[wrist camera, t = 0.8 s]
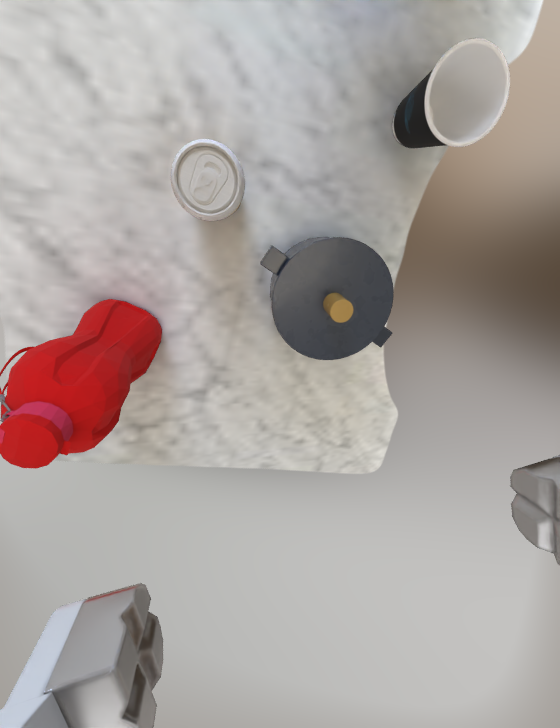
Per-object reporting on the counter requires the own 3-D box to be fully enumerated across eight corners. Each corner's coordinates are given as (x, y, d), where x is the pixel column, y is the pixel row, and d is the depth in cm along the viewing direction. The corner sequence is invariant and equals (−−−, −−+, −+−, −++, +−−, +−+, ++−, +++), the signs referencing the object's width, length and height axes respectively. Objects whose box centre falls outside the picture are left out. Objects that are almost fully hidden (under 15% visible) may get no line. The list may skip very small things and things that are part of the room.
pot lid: (320, 208, 37) (331, 208, 33) (413, 284, 42) (433, 292, 37) (247, 318, 41) (248, 330, 37) (339, 375, 46) (350, 392, 41)
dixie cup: (368, 109, 39) (412, 75, 30) (429, 65, 38) (497, 14, 28) (395, 175, 43) (443, 164, 33) (452, 136, 42) (520, 113, 32)
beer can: (251, 181, 41) (258, 166, 28) (228, 227, 43) (223, 235, 29) (205, 150, 39) (188, 117, 26) (183, 200, 41) (156, 194, 28)
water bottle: (88, 282, 44) (-72, 359, 21) (171, 318, 47) (109, 419, 24) (68, 342, 47) (-91, 468, 24) (147, 373, 50) (73, 509, 27)
